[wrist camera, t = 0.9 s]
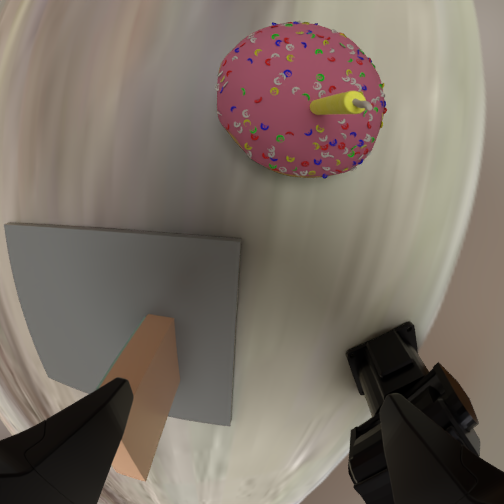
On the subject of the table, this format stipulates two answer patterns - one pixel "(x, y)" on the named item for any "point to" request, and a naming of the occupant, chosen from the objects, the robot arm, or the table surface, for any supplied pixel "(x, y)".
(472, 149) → the table surface
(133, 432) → the tile
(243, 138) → the cupcake
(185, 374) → the board
